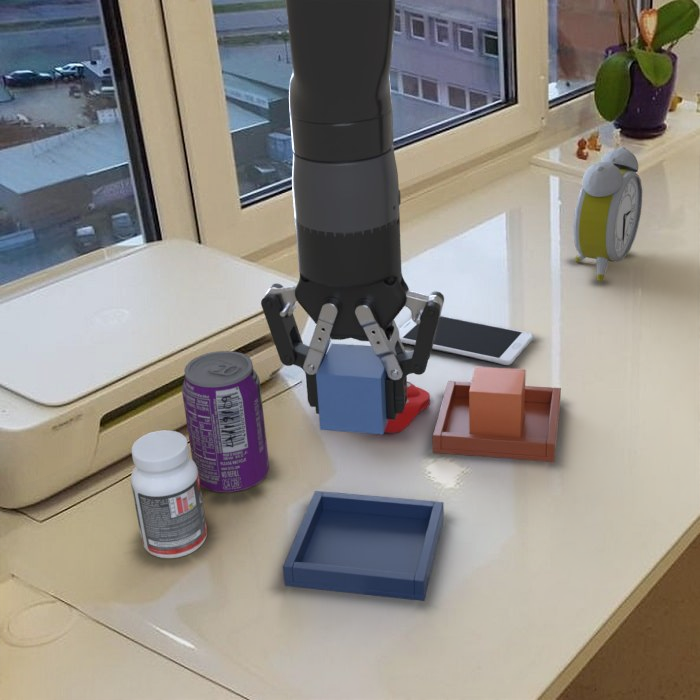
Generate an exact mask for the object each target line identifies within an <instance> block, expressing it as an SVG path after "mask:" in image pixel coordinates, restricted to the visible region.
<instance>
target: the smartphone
mask: <svg viewBox="0 0 700 700" xmlns="http://www.w3.org/2000/svg"><path fill="white" fill-rule="evenodd" d="M419 326H420V324H416V323H415V322H414V321H413V320H412V317H411V318H410V319H409V320H408V321H406V322H405V323H404V324H403V325H401V327H399V328H398V330H399V337H400V340H401V343H402V344H405V345H409V346H414V347H415V343H416V339H417V334H418V330H419ZM534 338H535V335H534V334H533V333H531V332H527V331H521V330H516V329H511V328H506V327H502V326H501V327H500V326H497V325H492V324H491V325H490V324H485V323H481V322H476V321H470V320H467V319H466V320H465V319H460V318H455V317H450V316H444V315H440V319H439V323H438V327H437V331H436V335H435V339H434V343H433V347H432V351H433V350H434V351H436V352H443V353H447V354H451V355H457V356H462V357H465V358H466V357H467V358H471V359H475V360H481V361H484V362H485V361H486V362H489V363H494V364H499V365H504V366H510V365H512V364H513V363H514V361H515V360H517V358H518V357H519V356H520V354H522V353H523V351H524V350H525V348H527V347H528V345H529V344H530V343H531V342H532V341H533V340H534Z"/></svg>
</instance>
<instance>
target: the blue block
mask: <svg viewBox="0 0 700 700" xmlns="http://www.w3.org/2000/svg"><path fill="white" fill-rule="evenodd" d="M386 376H387V373H386V371H385V369H384V367H383V364H382V362H381V360H380V358H379V357H377V356H376V355H375V353H374V351H373V348H372V346H371V345H363V344H347V343H346V344H344V343H330V345H329V347H328V350H327V353H326V356H325V358H324V359H323V361H322V363H321V365H320V367H319V369H318V371H317V373H316V381H317V394H318V406H319V414H318V418H319V429H320V431H332V432H343V433H357V434H370V435H381V436H382V435H384V434H385V432H384V431H385V428H386V425H387V423H388V420H389V419H387V417H386V396H385V379H386Z"/></svg>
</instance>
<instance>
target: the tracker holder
mask: <svg viewBox="0 0 700 700" xmlns="http://www.w3.org/2000/svg"><path fill="white" fill-rule="evenodd" d="M430 403H431V394H430V393H429V392H428V391H427V390H425V389H423V388H421V387H419V386H416V385H415V384H413V383H411V382H410V381H407V402H406V405H405V408H404V410H403V412H402V413H398V415H397V418H396V420H390V419H389V420H388V423H387V425H386V428H385V431H384V433H389V434H397V433H400V432H402V431H403V430H405V429H406V428H407V427H408V426H409V425H410V424H411V423H412V422H413V420H414V419H415V418H416V417H417V416H418V415H419V414H420V413H421V412H422V411H424V410H426V409H427V408H428V407H429V406H430Z"/></svg>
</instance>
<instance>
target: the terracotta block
mask: <svg viewBox="0 0 700 700" xmlns="http://www.w3.org/2000/svg"><path fill="white" fill-rule="evenodd" d="M526 375H527V374H526V369H523V368H506V367H491V366H475V367H474V370H473V374H472V379H471V386H470V390H469V434H478V435H492V436H505V437H519V438H521V432H522V426H523V419H524V413H525V386H526Z"/></svg>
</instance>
